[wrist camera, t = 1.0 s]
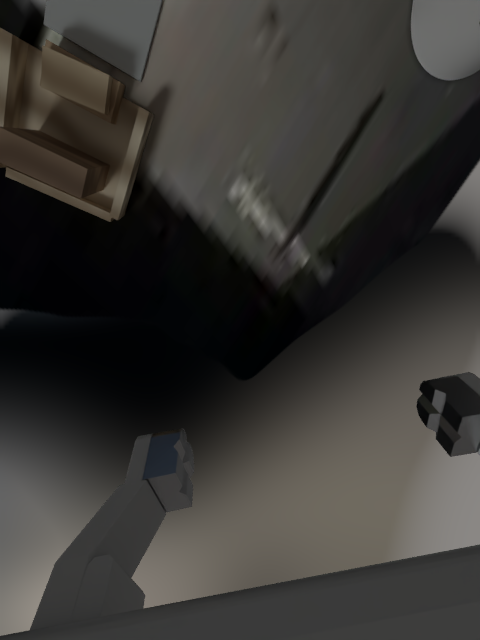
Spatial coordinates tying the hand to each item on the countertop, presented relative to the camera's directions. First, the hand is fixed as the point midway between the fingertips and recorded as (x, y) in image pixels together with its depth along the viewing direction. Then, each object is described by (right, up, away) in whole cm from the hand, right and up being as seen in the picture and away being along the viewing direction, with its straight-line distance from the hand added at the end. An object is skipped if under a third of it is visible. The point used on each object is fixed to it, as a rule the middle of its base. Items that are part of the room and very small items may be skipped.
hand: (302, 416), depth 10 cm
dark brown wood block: (-25, +25, +30) cm, 46 cm away
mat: (-18, +38, +23) cm, 48 cm away
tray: (-24, +27, +29) cm, 46 cm away
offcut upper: (-21, +31, +24) cm, 44 cm away
